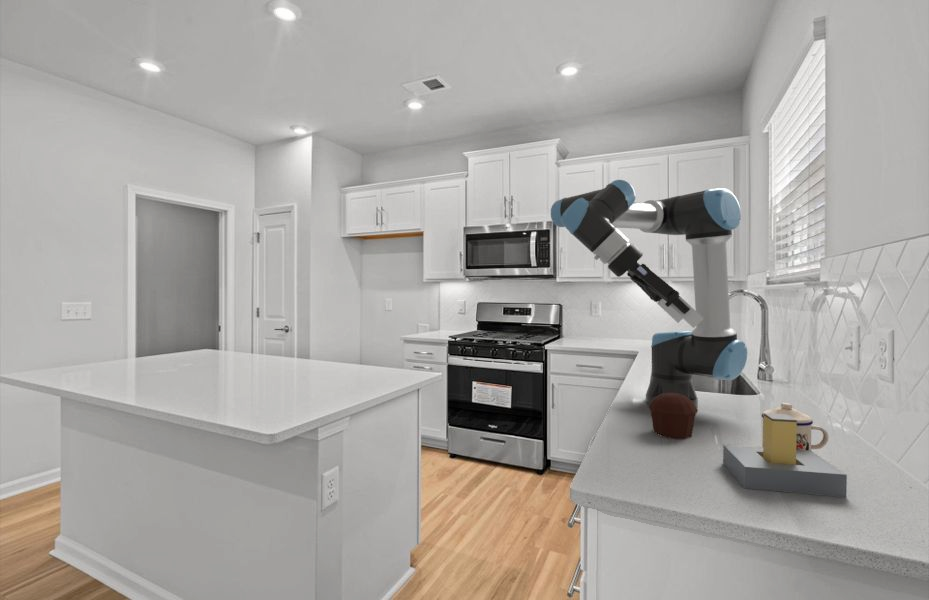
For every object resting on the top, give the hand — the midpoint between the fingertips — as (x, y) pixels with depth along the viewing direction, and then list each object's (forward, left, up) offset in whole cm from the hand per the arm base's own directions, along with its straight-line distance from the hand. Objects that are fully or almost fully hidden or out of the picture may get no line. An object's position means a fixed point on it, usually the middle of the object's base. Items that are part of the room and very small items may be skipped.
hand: (690, 320), depth 99 cm
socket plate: (+10, +14, -30) cm, 34 cm away
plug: (+10, +14, -29) cm, 33 cm away
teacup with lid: (-3, +22, -30) cm, 37 cm away
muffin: (-15, 0, -30) cm, 33 cm away
